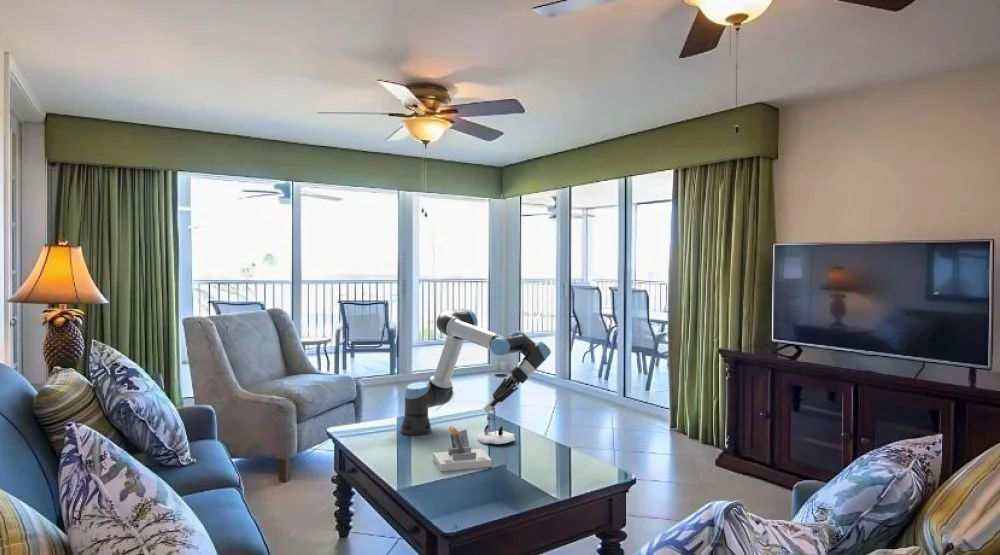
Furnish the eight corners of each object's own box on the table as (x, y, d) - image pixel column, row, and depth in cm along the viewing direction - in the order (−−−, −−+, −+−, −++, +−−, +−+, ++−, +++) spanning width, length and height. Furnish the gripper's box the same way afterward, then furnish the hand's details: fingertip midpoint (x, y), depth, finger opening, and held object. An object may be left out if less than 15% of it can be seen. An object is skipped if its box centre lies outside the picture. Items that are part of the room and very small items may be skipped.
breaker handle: (458, 453, 251) (448, 427, 249) (463, 451, 252) (453, 424, 250) (462, 458, 246) (451, 431, 244) (467, 455, 247) (456, 428, 244)
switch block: (432, 459, 252) (433, 447, 251) (481, 455, 259) (481, 443, 259) (440, 471, 239) (441, 458, 238) (491, 466, 246) (491, 454, 246)
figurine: (524, 441, 279) (522, 406, 279) (492, 447, 268) (491, 412, 269) (500, 433, 295) (499, 401, 296) (469, 439, 285) (468, 406, 285)
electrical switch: (457, 452, 263) (456, 433, 263) (449, 450, 265) (449, 432, 266) (469, 447, 269) (468, 429, 269) (462, 446, 272) (461, 428, 272)
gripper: (533, 380, 251) (495, 420, 246) (522, 374, 263) (486, 412, 258) (522, 368, 249) (484, 409, 244) (511, 362, 261) (475, 401, 256)
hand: (485, 410), depth 251 cm, fingers closed
